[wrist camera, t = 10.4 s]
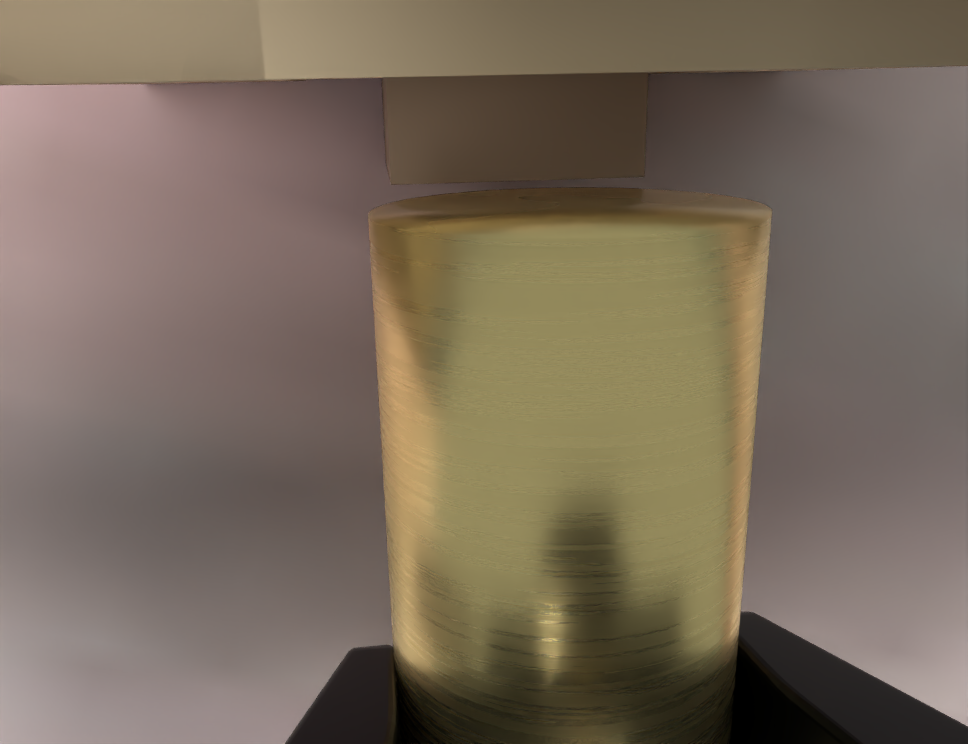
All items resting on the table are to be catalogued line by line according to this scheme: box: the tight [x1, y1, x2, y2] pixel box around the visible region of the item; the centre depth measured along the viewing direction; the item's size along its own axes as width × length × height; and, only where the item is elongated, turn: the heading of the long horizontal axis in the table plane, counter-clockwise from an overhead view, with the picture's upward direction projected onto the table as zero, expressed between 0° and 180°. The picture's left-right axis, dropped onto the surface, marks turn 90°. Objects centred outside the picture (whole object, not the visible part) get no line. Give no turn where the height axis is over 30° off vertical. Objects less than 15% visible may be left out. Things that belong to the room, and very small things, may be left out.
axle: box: [368, 187, 772, 744], centre depth 8 cm, size 9×3×3 cm, turn 1°
